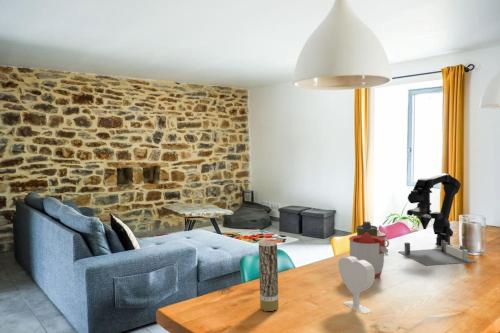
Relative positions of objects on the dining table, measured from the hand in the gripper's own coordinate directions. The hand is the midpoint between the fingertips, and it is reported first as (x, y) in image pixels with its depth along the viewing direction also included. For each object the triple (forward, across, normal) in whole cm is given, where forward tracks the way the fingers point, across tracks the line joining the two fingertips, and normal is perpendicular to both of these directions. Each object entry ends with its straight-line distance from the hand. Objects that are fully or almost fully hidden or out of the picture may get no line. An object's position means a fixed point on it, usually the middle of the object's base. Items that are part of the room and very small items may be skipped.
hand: (424, 229), depth 224 cm
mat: (+12, +11, -9) cm, 19 cm away
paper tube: (+10, +10, -118) cm, 119 cm away
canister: (+11, -7, -40) cm, 43 cm away
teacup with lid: (+12, -15, -20) cm, 28 cm away
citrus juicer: (+11, +9, -60) cm, 61 cm away
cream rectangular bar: (+11, +18, -2) cm, 22 cm away
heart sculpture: (+10, +29, -92) cm, 97 cm away
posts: (+12, +11, -8) cm, 18 cm away
